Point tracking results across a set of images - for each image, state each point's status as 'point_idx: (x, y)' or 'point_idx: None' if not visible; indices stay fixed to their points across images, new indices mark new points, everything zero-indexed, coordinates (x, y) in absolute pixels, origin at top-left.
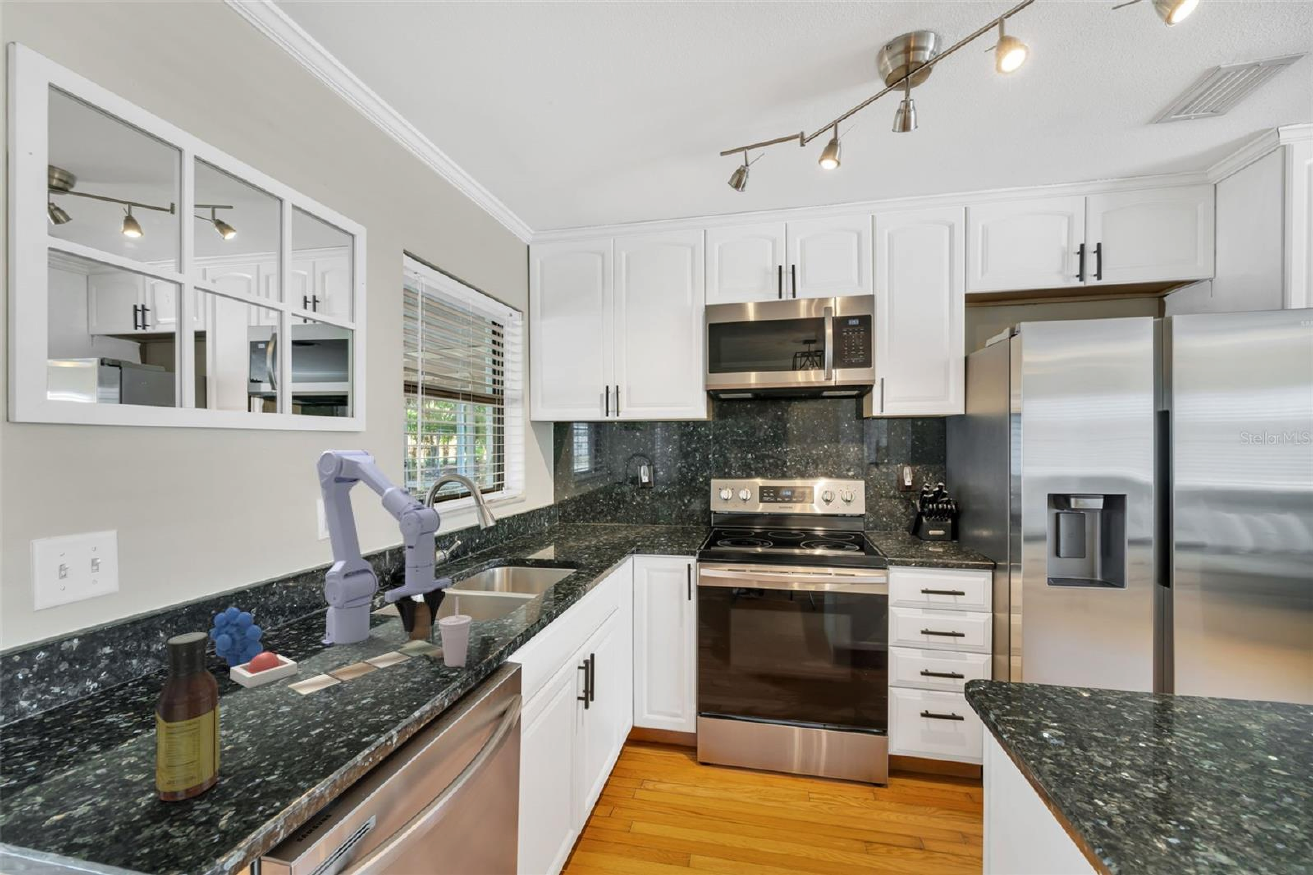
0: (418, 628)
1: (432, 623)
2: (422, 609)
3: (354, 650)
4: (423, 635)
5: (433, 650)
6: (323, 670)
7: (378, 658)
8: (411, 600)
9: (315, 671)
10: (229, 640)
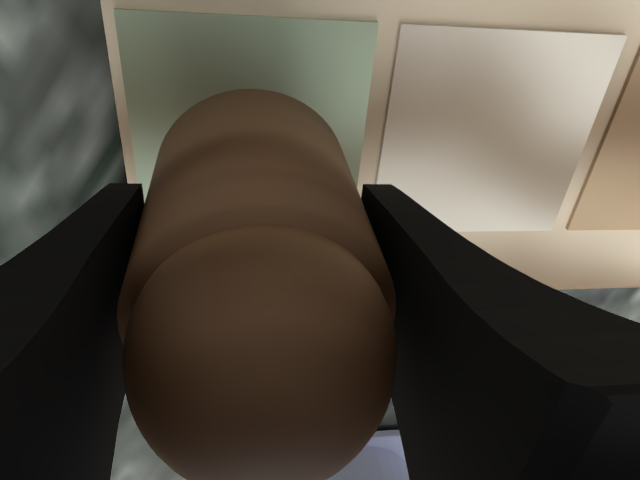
0: (333, 163)
1: (128, 188)
2: (316, 295)
3: (392, 408)
4: (281, 103)
5: (198, 12)
6: (621, 308)
7: (496, 201)
8: (600, 478)
9: (636, 321)
10: None
